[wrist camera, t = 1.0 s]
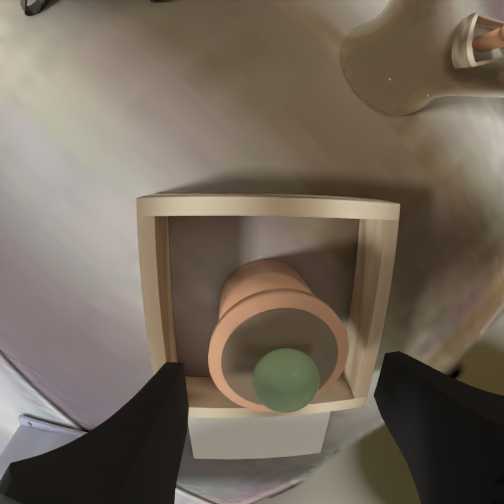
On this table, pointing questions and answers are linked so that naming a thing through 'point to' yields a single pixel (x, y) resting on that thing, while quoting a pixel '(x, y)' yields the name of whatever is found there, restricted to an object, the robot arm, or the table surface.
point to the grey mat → (257, 436)
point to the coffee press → (37, 7)
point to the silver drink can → (426, 53)
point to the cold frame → (257, 204)
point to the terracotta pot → (274, 340)
